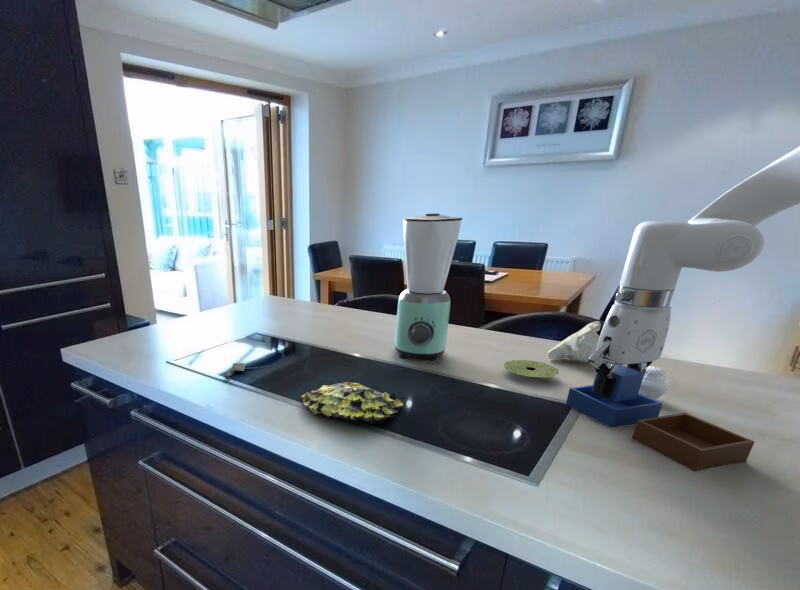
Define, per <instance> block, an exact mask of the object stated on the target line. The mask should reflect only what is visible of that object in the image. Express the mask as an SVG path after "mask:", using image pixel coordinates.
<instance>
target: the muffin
mask: <svg viewBox="0 0 800 590" xmlns="http://www.w3.org/2000/svg"><path fill="white" fill-rule="evenodd" d="M670 387H671V383H670V381H669V380H668V379H667V378H666V372H665V371H664V369H663V368H660V367H657V366H651V365H650V366H648V367H647V368H646V372H645V374H644V377H643V381H642V384H641V387H640V390H639V394H641V395H644V396H646V397H649V398H651V399H653V400H656V401H657V400H658V399H659V398H660V397H661V396H663V395H664V394H665V393H666V392H667V391H668V390H669V389H670Z"/></svg>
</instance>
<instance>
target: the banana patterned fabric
mask: <svg viewBox="0 0 800 590" xmlns="http://www.w3.org/2000/svg"><path fill="white" fill-rule="evenodd" d="M300 397H301V398H302V399H303V400H302V403H303V406H305V407H306V408H307V409H308V410H309V411H310V412H311V413H312V414H313V415H314V416H315V415H318V414H323V415H324V416H326V417H327V418H329V417H331V416H332V417H333V419H335V418H336V419H341V420H343V419H344V420H346V421H362V422H366V423H368V424H375V423H383V422H385V421H387V420H389V419H393V418H394V417H395V415H397V414H398V413H399V412H400V410H401V409H402V407H403V406H404V403H403V402H402V401H401V400H400V399H399V398H398V397H397V395H396V394H395V393H390V394H389V393H387V391H385V392H384V391H383V390H376V389H373V388H370V387H367V386H365V385H363V384H361V383H359V382H350V381H346V382H339V383H334V384H330V385H325V384H322V386H320V387H319V388H318V389H316V390H313V389H311V391H306V392H305V393H304V394H303V395H300Z"/></svg>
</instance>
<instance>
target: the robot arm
mask: <svg viewBox="0 0 800 590" xmlns="http://www.w3.org/2000/svg"><path fill="white" fill-rule="evenodd" d="M797 205H800V145H799V146H798V147H796V148H794V149H793V150H791V151H790V152H788V153H786V154H784V155H783V156H781V157H780V158H777V159H776V160H774V161H773V162H771V163H770V164H767V166H765V167H763V168H762V169H760V170H759V171H757V172H755V173H754V174H752V175H751V176H748V177H746V178H745V179H744V180H742V181H741V182H739V183H737V184H736V185H734V186H732V187H731V188H730V189H728V190H727V191H726V192H724V193H723V194H721V195H720V196H719V197H718V198H716V199H715V200H713V201H712V202H711V203H709V204H708V205H707V206H706V207H705V208H703V209H702V210H701V211H699V212H698V213H697V214H696V215H694V216H693V217H692V218H691V219H689V220H688V221H682V220H645V221H643V222H641V223H639V224H638V225H636V227H635V229H634V231H633V234H632V238H631V241H630V244H629V248H628V252H627V256H626V259H625V262H624V266H623V270H622V273H621V277H620V279H619V285H618V288H617V290H616V291H617V292H616V294H615V298H614V302H613V304H612V305H611V308H610V310H609V312H608V314H607V316H606V319H605V320H604V323H603V326H602V329H601V332H600V334H599V336H600V337H599V341H598V344H597V349H596V351H595V352H594V353H593V355H592V356H591V357H590V358H589V361H588V362H589V363H590V364H591V365H592V366H593V368H594V369H595V374H596V373H597V374H598V375H597V379H596V382H595V386H594V389H593V392H594V393H595V394H597V395H600V396H602V397H604V398H610V397H611V393H612V390H613V387H614V383H615V380H616V379H615V378H613V377H614V375H615V373H616V371H617V369H618V367H619V366H620V365H623V366H626V367H628V368H631V369H634V370H637V371H639V372H642V373H645V372H646V368H647V367H650V366H651V364H653V362H655V361H657V360H659V359H660V358H661V356H662V354H663V351H664V347H665V344H666V341H667V336H668V332H669V327H670V324H671V323H670V322H671V315H672V306H671V302H672V298H673V295H674V293H675V289H676V286H677V283H678V280H679V277H680V274H681V271H682V269H683V268H687V269H695V270H701V271H706V272H707V271H708V272H714V273H715V272H716V273H717V272H719V273H721V272H722V273H723V272H730V271H731V272H732V271H735V270H738V269H742V268H744V267H745V266H747V265H749V264H751V263H752V262H754V261H755V260H756V259H757V258H758V257H759V256H760V254H761V253H762V251H763V249H764V247H765V238H764V235H763V233H762V232H761V230H760V229H759V228H758V227H756V226H758V225H759V224H761V223H763V222H764V221H766V220H768V219H769V218H771V217H774V216H775V215H778V214H779V213H781V212H783V211H786V210H787V209H790V208H792V207H794V206H797ZM608 363H609V364H611V367H610V369H609V368H608V366H609V365H608Z"/></svg>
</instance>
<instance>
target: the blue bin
mask: <svg viewBox="0 0 800 590" xmlns="http://www.w3.org/2000/svg"><path fill="white" fill-rule="evenodd" d="M592 387H593V384H591V385H584V386H583V385H582V386H575V387H570V388H568V389H569V390H568V394H567V398H566V402H565V405H566V406H567V407H570V408H572V409H574V410H575V411H577V412H579V413H581V414H583V415H585V416H587V417H588V418H590V419H592V420H595V421H597V422H598V423H600V424H602V425H604V426H606V427H608V428H610V429H615V428H621V427H627V426H633V425H636V422H637V420H641V419H647V418H654V417H660V416H659V415H660V413H661V410H662V407H663V402H660V401H658V400H657V399H656V400H653V399H651V398H649V397H646V396H644V395H641V394H639V393H638V396H637V399H630V400H623V401H616V402H614V401H612V400H610V399H608V398H604V397H602V396H600V395H597V394H595V393H594V392H593V391H592Z"/></svg>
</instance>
